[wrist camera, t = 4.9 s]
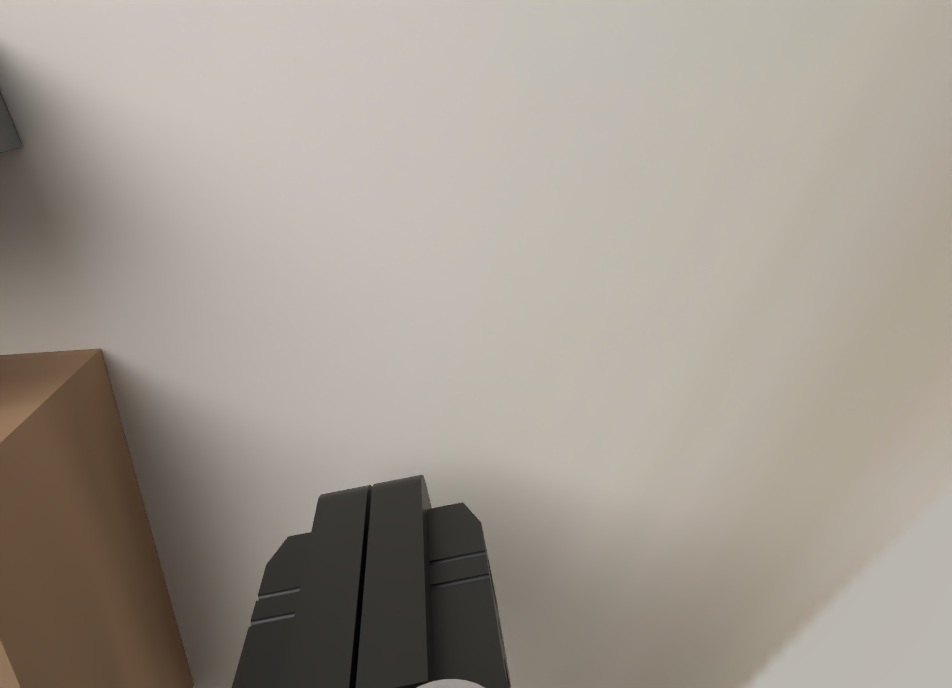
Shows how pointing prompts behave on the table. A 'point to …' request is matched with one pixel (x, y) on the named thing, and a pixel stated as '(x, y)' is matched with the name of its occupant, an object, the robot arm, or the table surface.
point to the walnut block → (76, 537)
